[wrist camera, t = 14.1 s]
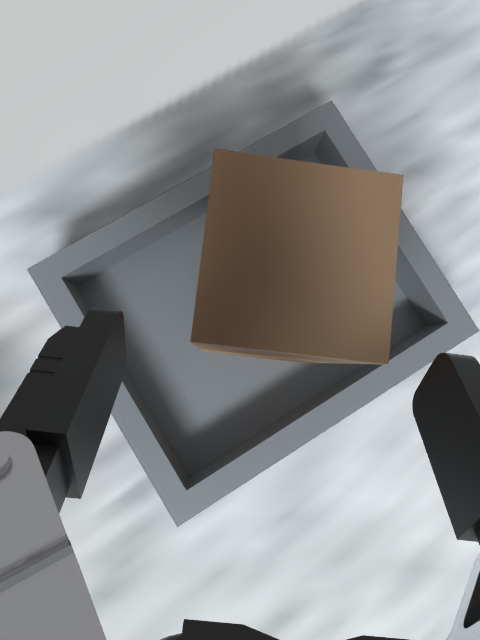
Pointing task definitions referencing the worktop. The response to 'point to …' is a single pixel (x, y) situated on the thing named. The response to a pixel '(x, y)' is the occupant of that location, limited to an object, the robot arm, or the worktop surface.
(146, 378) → the parts tray
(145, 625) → the worktop surface
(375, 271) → the block
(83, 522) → the worktop surface
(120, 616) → the worktop surface
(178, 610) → the worktop surface
